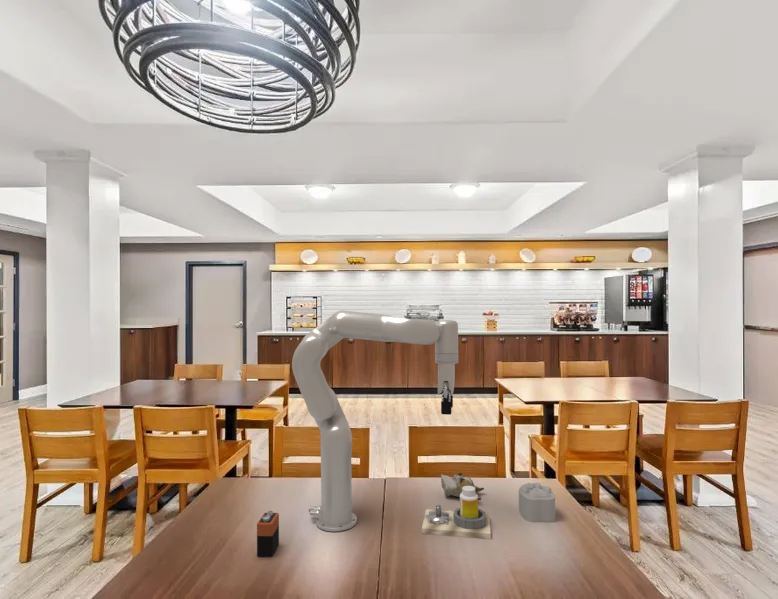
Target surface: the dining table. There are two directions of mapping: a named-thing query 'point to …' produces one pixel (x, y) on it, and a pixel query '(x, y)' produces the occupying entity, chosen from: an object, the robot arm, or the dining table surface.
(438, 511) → the gear
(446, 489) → the ceramic sculpture
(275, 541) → the battery
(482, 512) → the socket ring
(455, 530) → the gear board
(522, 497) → the lumpy-topped squat cylinder
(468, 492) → the supplement bottle
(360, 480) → the dining table surface
